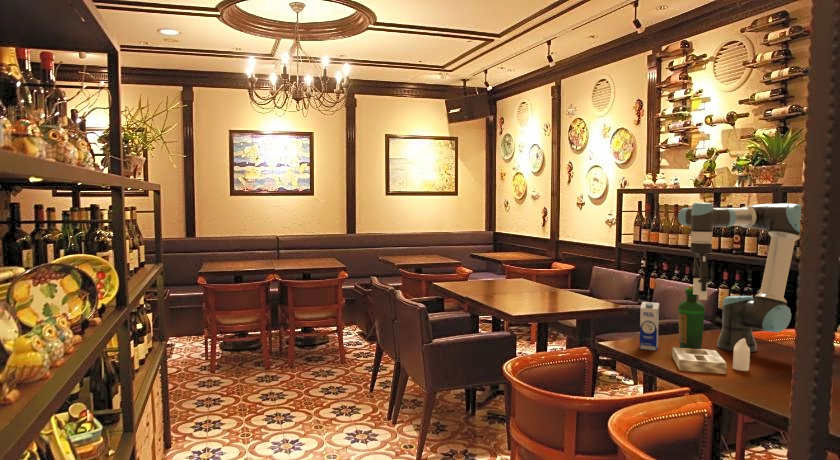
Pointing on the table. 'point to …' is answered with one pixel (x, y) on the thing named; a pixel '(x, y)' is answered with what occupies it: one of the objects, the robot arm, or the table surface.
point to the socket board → (699, 360)
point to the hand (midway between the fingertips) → (699, 297)
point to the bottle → (691, 321)
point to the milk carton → (649, 326)
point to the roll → (741, 356)
